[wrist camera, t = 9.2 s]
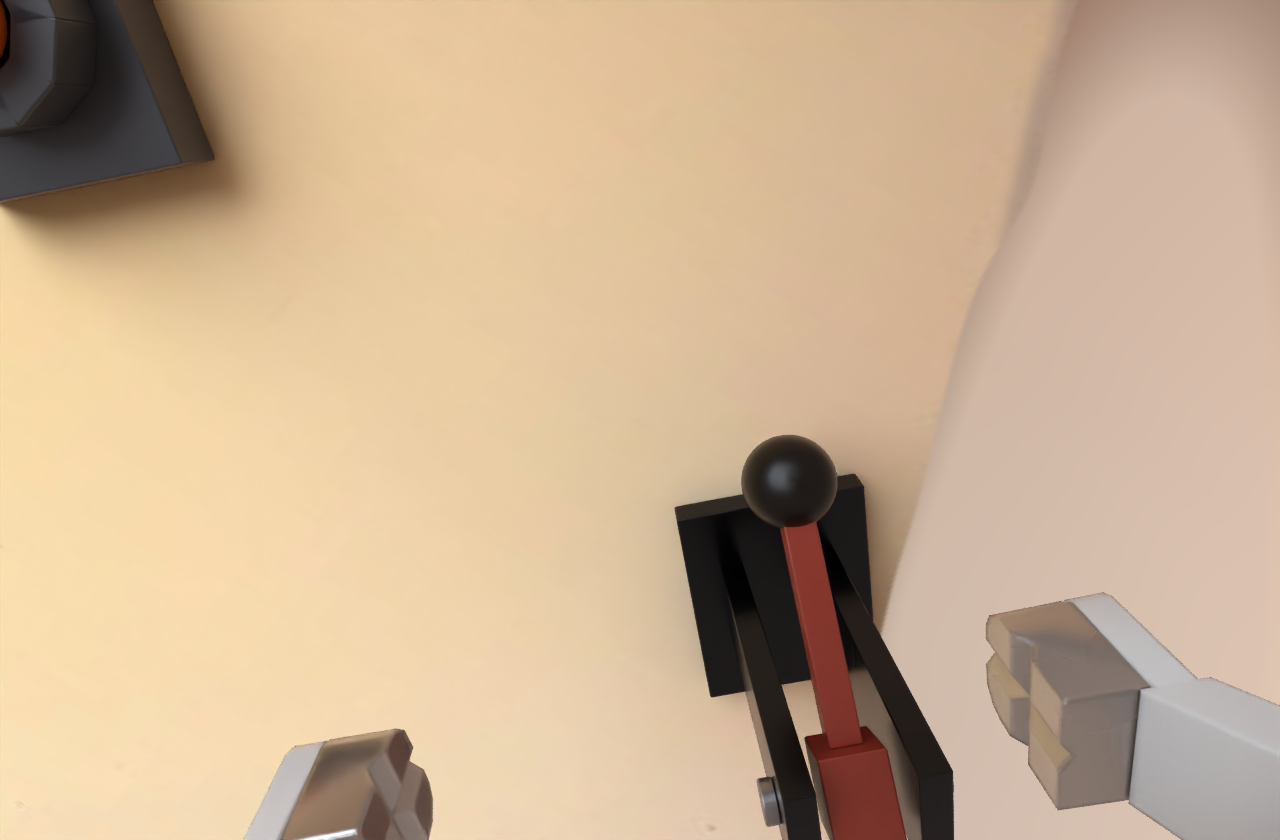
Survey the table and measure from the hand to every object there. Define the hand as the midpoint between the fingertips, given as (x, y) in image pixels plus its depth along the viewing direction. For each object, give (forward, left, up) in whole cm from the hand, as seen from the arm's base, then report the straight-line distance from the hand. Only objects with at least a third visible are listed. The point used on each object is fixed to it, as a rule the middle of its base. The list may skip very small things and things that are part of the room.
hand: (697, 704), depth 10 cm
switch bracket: (+7, +12, -20) cm, 24 cm away
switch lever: (+5, +10, -13) cm, 17 cm away
